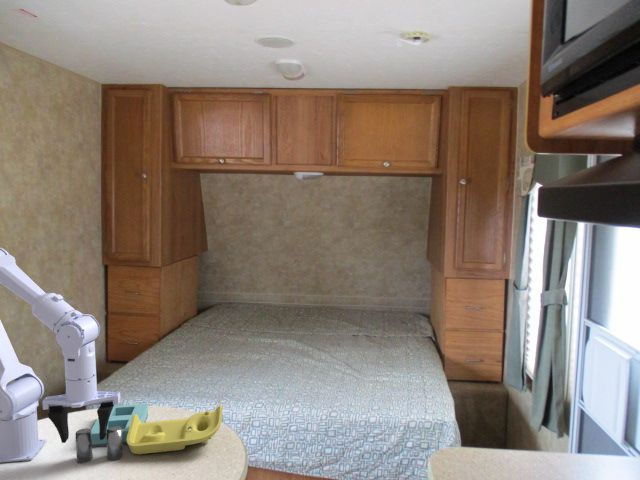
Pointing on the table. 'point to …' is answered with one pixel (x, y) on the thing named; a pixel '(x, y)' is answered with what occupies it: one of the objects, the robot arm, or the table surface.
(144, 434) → the plastic component
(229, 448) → the table surface
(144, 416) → the housing
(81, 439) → the peg
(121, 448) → the peg
